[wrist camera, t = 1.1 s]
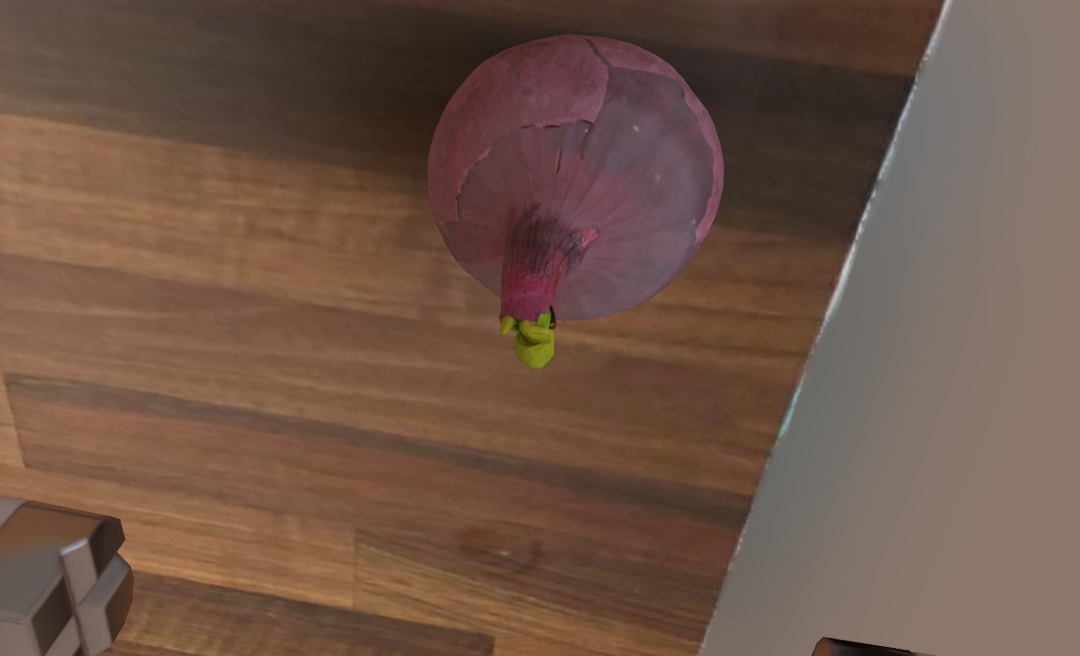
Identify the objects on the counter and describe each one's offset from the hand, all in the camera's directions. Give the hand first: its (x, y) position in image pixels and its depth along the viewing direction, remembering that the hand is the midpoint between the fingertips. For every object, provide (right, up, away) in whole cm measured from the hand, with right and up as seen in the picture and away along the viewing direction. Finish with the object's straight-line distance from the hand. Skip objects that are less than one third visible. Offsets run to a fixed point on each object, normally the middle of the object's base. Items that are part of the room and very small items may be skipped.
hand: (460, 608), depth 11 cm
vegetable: (+2, +9, +13) cm, 15 cm away
